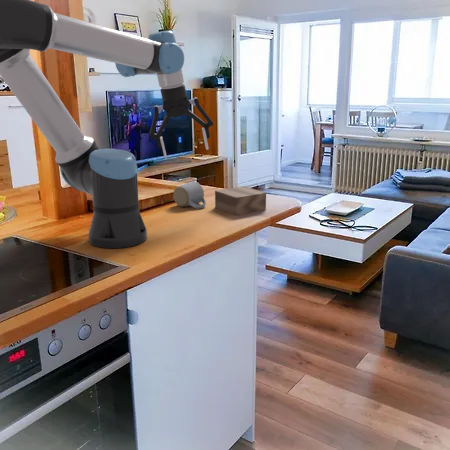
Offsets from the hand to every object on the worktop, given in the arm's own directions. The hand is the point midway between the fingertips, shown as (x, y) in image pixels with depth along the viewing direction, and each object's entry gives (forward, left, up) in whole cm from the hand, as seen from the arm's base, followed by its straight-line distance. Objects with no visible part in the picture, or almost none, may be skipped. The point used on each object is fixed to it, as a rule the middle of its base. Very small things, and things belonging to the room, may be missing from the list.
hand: (186, 153), depth 154 cm
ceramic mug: (+3, +2, -19) cm, 19 cm away
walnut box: (+14, -11, -19) cm, 26 cm away
